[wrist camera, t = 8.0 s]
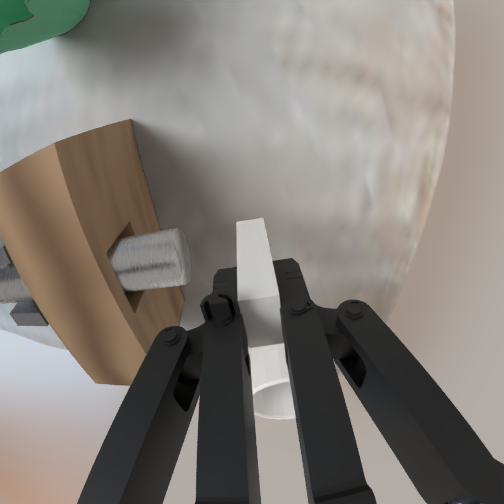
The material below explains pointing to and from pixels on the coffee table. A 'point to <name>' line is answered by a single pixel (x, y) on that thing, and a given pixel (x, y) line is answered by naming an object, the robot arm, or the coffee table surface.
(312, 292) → the coffee table surface
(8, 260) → the cradle
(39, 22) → the mug
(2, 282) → the axle
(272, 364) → the mug
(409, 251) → the coffee table surface
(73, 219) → the beam
